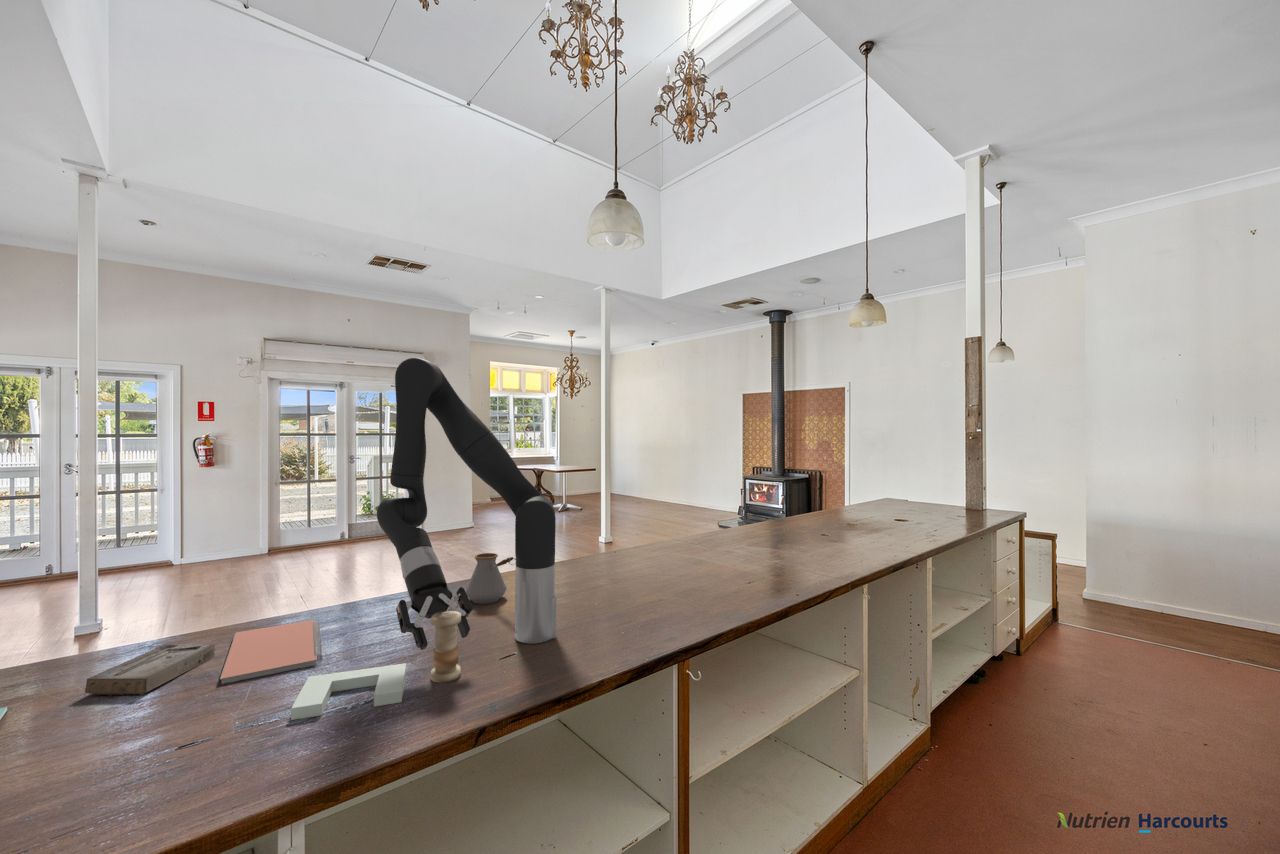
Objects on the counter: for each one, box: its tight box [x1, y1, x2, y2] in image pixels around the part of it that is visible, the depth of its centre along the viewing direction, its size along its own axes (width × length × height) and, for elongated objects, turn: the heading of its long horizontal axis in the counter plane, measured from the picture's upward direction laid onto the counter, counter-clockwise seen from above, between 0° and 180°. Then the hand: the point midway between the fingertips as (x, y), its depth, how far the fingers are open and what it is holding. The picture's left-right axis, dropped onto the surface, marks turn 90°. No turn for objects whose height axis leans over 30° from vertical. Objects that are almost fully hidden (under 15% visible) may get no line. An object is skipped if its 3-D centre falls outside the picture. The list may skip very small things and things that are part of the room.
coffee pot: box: [465, 552, 516, 605], centre depth 147 cm, size 21×12×15 cm, turn 43°
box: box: [84, 643, 216, 697], centre depth 103 cm, size 11×17×3 cm, turn 4°
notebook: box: [219, 619, 323, 685], centre depth 115 cm, size 27×17×2 cm, turn 33°
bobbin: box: [430, 611, 462, 684], centre depth 103 cm, size 6×6×12 cm
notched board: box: [290, 662, 407, 721], centre depth 96 cm, size 17×12×2 cm
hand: (445, 641), depth 103 cm, fingers open, 8 cm apart
